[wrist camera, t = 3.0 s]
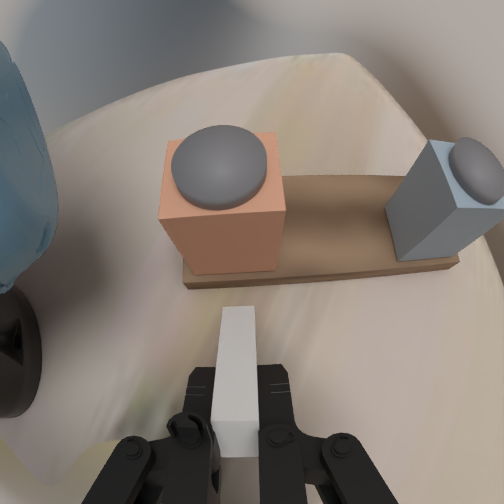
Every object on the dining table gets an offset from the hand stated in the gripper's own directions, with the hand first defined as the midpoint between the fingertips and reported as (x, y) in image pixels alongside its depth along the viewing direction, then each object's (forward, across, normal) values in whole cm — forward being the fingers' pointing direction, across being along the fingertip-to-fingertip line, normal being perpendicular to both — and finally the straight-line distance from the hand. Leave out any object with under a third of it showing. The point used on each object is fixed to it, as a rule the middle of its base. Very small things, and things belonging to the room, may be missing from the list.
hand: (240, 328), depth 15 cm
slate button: (+10, +15, +1) cm, 18 cm away
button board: (+12, +7, 0) cm, 14 cm away
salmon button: (+10, -1, +1) cm, 10 cm away
